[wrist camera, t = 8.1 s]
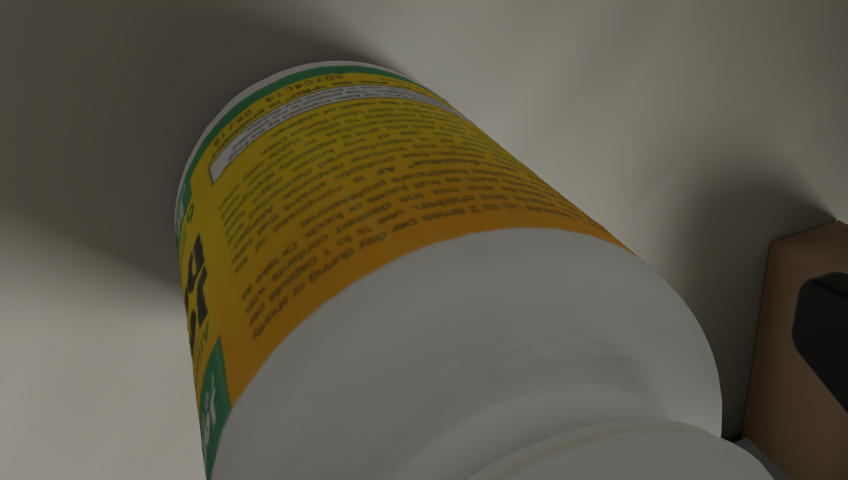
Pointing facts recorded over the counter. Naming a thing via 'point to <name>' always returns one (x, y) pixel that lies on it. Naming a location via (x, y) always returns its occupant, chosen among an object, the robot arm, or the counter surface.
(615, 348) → the supplement bottle
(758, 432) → the rail
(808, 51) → the counter surface
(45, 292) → the counter surface
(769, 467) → the socket block
